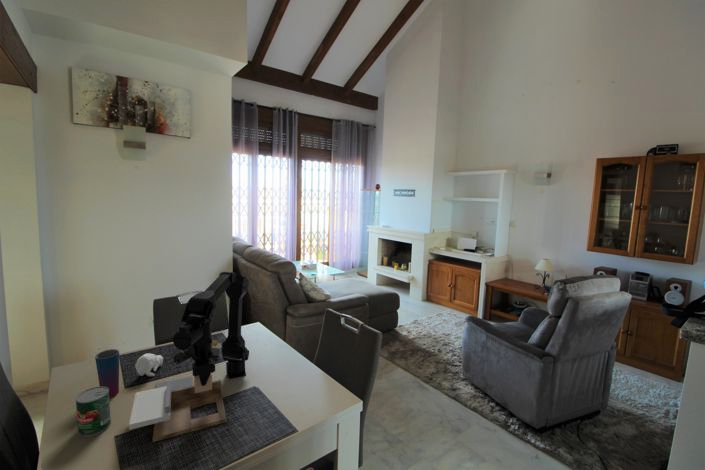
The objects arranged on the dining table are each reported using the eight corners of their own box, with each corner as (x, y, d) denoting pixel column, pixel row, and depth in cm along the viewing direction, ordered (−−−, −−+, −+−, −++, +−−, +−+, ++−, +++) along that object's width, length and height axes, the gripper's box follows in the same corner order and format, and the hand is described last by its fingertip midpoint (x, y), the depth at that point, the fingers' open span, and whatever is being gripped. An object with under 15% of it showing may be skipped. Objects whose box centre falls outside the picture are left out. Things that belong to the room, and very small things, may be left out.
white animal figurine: (133, 357, 126) (153, 345, 138) (133, 379, 126) (153, 365, 138) (149, 357, 126) (168, 346, 138) (149, 380, 126) (168, 366, 138)
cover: (171, 389, 112) (171, 379, 111) (170, 419, 97) (169, 408, 97) (136, 396, 107) (135, 386, 107) (129, 429, 93) (128, 418, 92)
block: (210, 381, 112) (210, 367, 111) (212, 389, 107) (211, 374, 107) (194, 384, 109) (193, 370, 109) (195, 393, 105) (194, 378, 104)
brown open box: (220, 394, 119) (220, 379, 119) (226, 422, 105) (226, 406, 105) (156, 409, 110) (155, 393, 110) (152, 442, 96) (152, 424, 95)
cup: (109, 401, 114) (106, 359, 112) (92, 398, 115) (89, 357, 113) (126, 389, 120) (124, 350, 118) (110, 387, 121) (108, 348, 120)
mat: (191, 377, 129) (191, 376, 129) (192, 394, 119) (192, 393, 119) (156, 384, 124) (156, 383, 124) (153, 403, 113) (153, 402, 113)
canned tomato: (74, 440, 96) (71, 404, 95) (83, 422, 103) (80, 389, 102) (107, 432, 99) (104, 398, 98) (114, 416, 106) (111, 384, 105)
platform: (203, 346, 156) (202, 332, 155) (237, 351, 152) (237, 337, 151) (185, 358, 144) (184, 344, 143) (222, 364, 140) (222, 349, 140)
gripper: (173, 328, 111) (175, 372, 113) (172, 353, 94) (174, 404, 96) (210, 323, 116) (211, 365, 118) (214, 346, 99) (215, 394, 101)
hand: (203, 381), depth 108 cm, fingers closed on block, 5 cm apart
